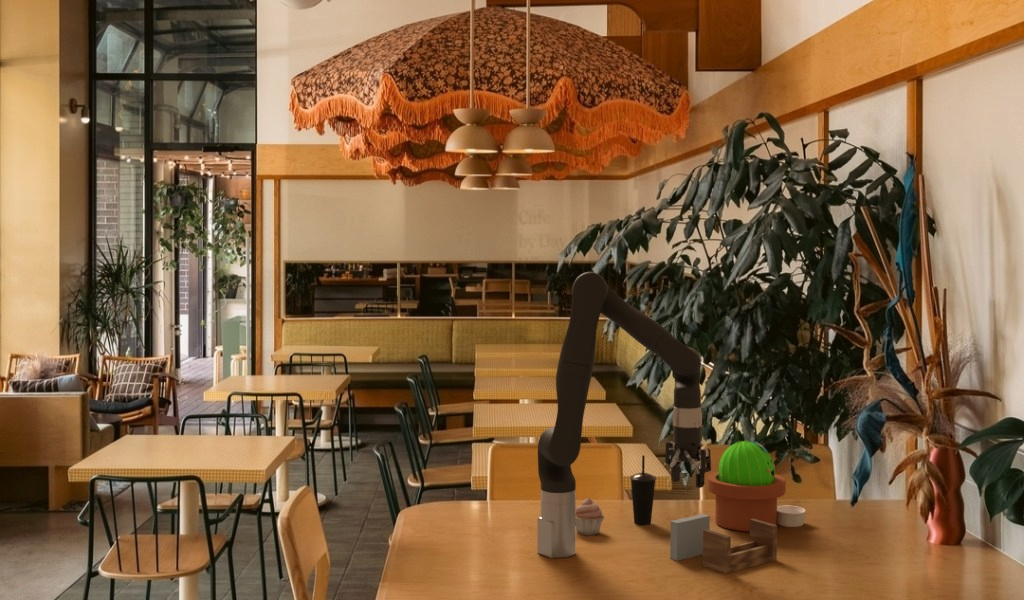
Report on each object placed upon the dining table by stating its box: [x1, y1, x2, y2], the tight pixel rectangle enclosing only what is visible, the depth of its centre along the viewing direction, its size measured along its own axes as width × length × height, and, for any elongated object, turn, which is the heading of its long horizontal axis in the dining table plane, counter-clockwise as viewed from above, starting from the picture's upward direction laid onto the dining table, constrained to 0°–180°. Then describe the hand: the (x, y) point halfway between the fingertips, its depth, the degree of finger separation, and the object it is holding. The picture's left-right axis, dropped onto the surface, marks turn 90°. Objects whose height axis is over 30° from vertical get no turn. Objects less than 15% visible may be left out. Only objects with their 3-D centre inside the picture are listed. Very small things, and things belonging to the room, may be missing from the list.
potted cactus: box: [707, 439, 787, 533], centre depth 319 cm, size 22×22×25 cm
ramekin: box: [776, 504, 806, 528], centre depth 321 cm, size 9×9×4 cm
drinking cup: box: [629, 455, 657, 526], centre depth 320 cm, size 8×8×20 cm
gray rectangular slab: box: [669, 513, 711, 562], centre depth 289 cm, size 12×2×10 cm, turn 126°
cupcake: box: [575, 497, 605, 536], centre depth 310 cm, size 9×9×10 cm
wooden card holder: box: [702, 519, 778, 574], centre depth 283 cm, size 19×8×9 cm, turn 126°
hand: (687, 484), depth 289 cm, fingers open, 8 cm apart
